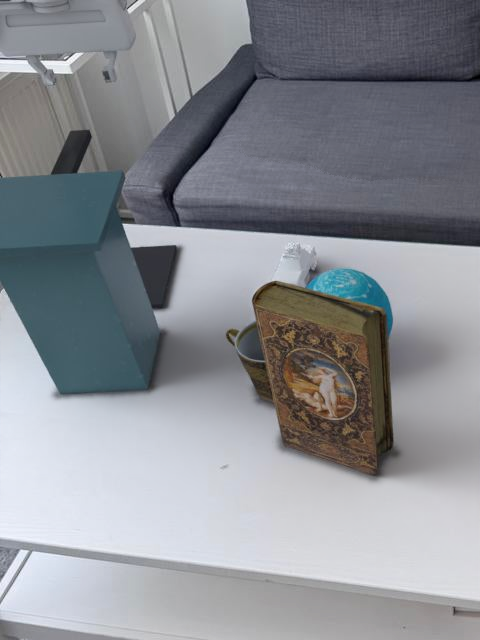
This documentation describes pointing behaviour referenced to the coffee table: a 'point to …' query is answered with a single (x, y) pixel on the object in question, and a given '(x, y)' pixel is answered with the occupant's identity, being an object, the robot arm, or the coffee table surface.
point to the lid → (59, 205)
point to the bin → (86, 314)
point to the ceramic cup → (252, 358)
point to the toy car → (296, 264)
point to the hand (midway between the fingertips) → (81, 82)
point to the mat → (155, 270)
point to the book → (327, 373)
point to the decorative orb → (353, 289)
